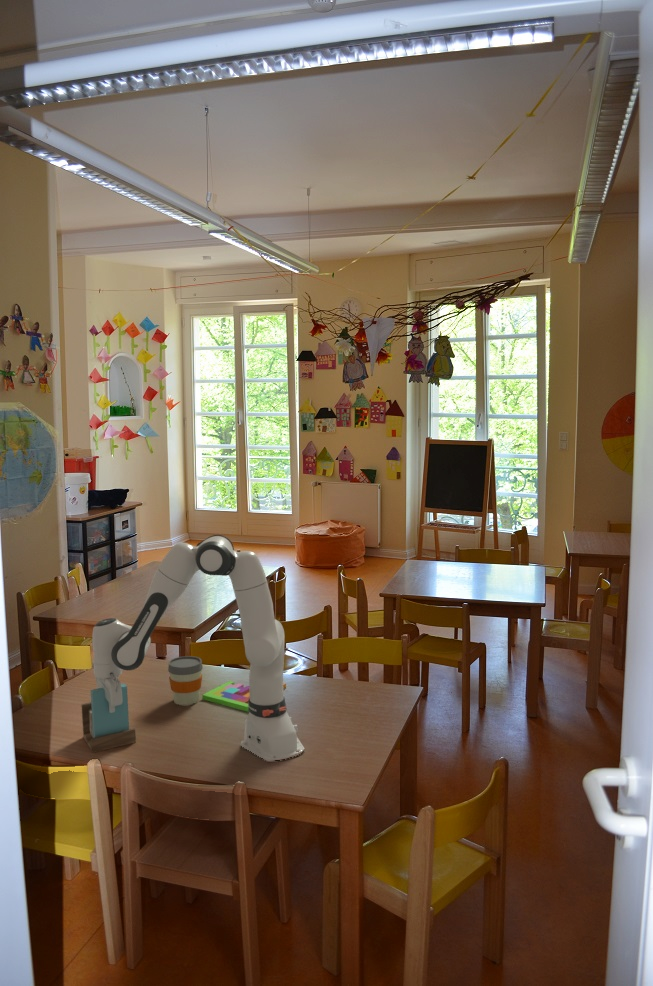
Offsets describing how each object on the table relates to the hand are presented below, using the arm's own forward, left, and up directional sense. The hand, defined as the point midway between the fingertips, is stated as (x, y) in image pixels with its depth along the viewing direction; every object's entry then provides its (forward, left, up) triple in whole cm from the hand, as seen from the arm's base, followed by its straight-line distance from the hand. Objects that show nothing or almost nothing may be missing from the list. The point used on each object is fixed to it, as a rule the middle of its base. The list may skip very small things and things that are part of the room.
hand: (110, 709), depth 251 cm
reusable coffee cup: (+21, -33, -12) cm, 41 cm away
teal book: (0, 0, -9) cm, 9 cm away
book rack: (+3, 0, -12) cm, 12 cm away
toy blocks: (+15, -55, -12) cm, 58 cm away
